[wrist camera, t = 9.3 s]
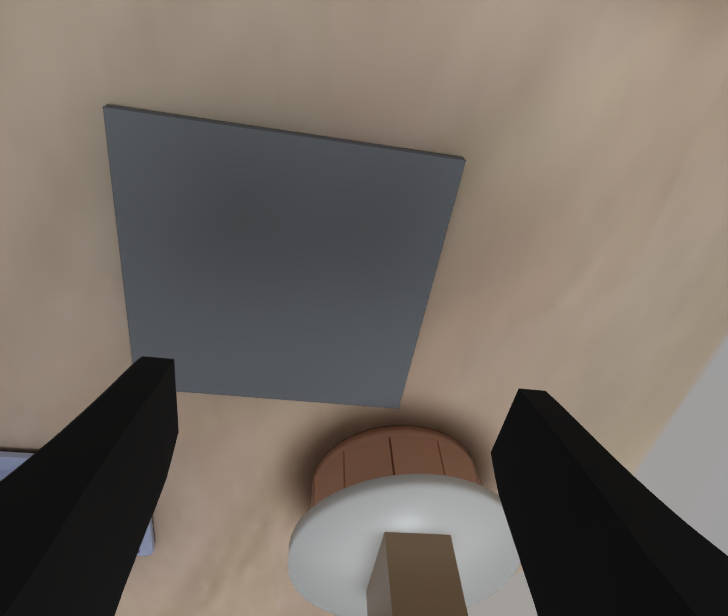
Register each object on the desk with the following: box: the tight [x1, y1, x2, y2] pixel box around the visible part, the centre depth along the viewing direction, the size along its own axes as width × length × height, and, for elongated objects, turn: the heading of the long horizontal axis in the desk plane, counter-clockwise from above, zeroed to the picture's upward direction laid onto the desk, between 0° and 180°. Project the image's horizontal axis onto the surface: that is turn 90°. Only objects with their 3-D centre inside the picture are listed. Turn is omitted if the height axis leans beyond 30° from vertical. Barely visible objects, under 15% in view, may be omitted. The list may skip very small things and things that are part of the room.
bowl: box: [310, 426, 482, 509], centre depth 26 cm, size 9×9×4 cm
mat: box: [103, 104, 466, 409], centre depth 20 cm, size 12×12×1 cm
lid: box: [288, 474, 521, 616], centre depth 22 cm, size 11×11×4 cm
